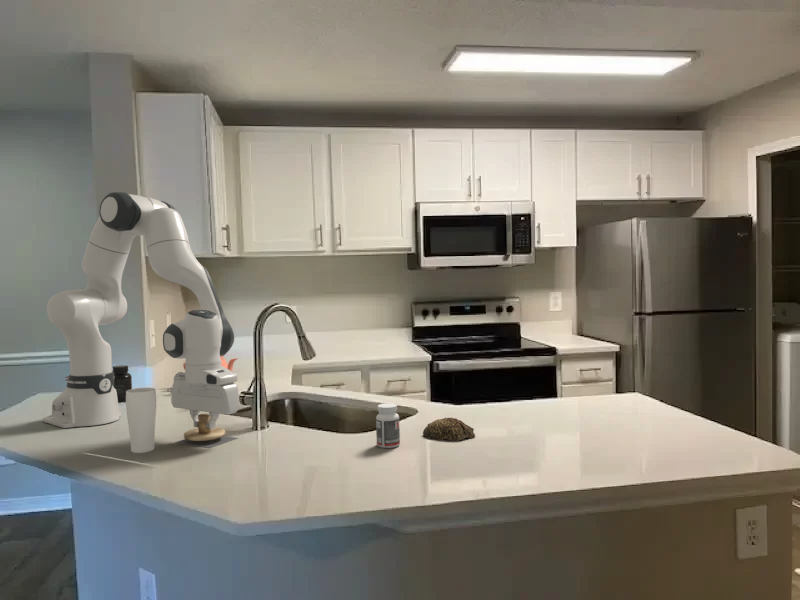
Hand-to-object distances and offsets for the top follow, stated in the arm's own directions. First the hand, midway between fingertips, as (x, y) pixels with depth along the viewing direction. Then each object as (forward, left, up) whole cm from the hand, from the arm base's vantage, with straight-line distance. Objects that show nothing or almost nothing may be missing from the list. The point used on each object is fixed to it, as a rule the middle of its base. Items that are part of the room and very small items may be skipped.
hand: (204, 428), depth 158 cm
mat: (0, 0, -4) cm, 4 cm away
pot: (-55, +58, -4) cm, 80 cm away
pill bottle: (+44, +16, -4) cm, 47 cm away
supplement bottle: (-66, +27, -4) cm, 71 cm away
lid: (0, 0, -2) cm, 2 cm away
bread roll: (+55, +32, -4) cm, 63 cm away
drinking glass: (-8, -13, -4) cm, 15 cm away
